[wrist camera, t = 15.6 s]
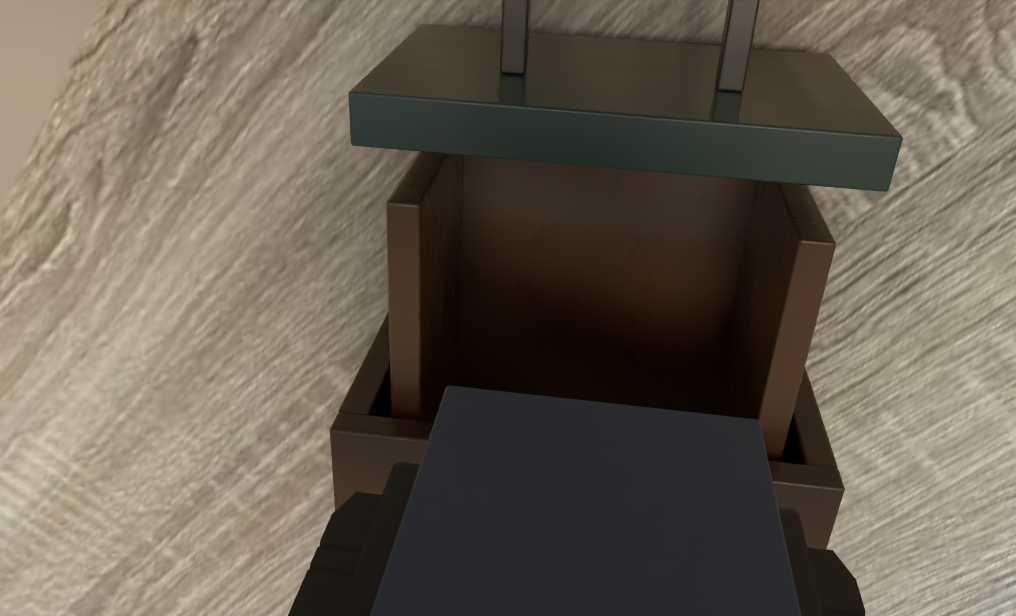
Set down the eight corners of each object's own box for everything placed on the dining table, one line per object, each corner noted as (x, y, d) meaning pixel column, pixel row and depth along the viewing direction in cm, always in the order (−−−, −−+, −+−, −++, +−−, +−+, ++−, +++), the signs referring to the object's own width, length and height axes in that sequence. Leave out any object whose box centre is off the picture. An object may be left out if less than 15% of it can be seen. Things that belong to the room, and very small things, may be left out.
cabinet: (409, 268, 30) (328, 429, 22) (786, 305, 28) (845, 488, 21) (412, 576, 37) (352, 782, 29) (714, 615, 36) (737, 840, 28)
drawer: (420, -188, 22) (335, -193, 16) (879, -163, 21) (986, -159, 15) (421, 410, 31) (368, 558, 25) (742, 446, 30) (772, 610, 24)
